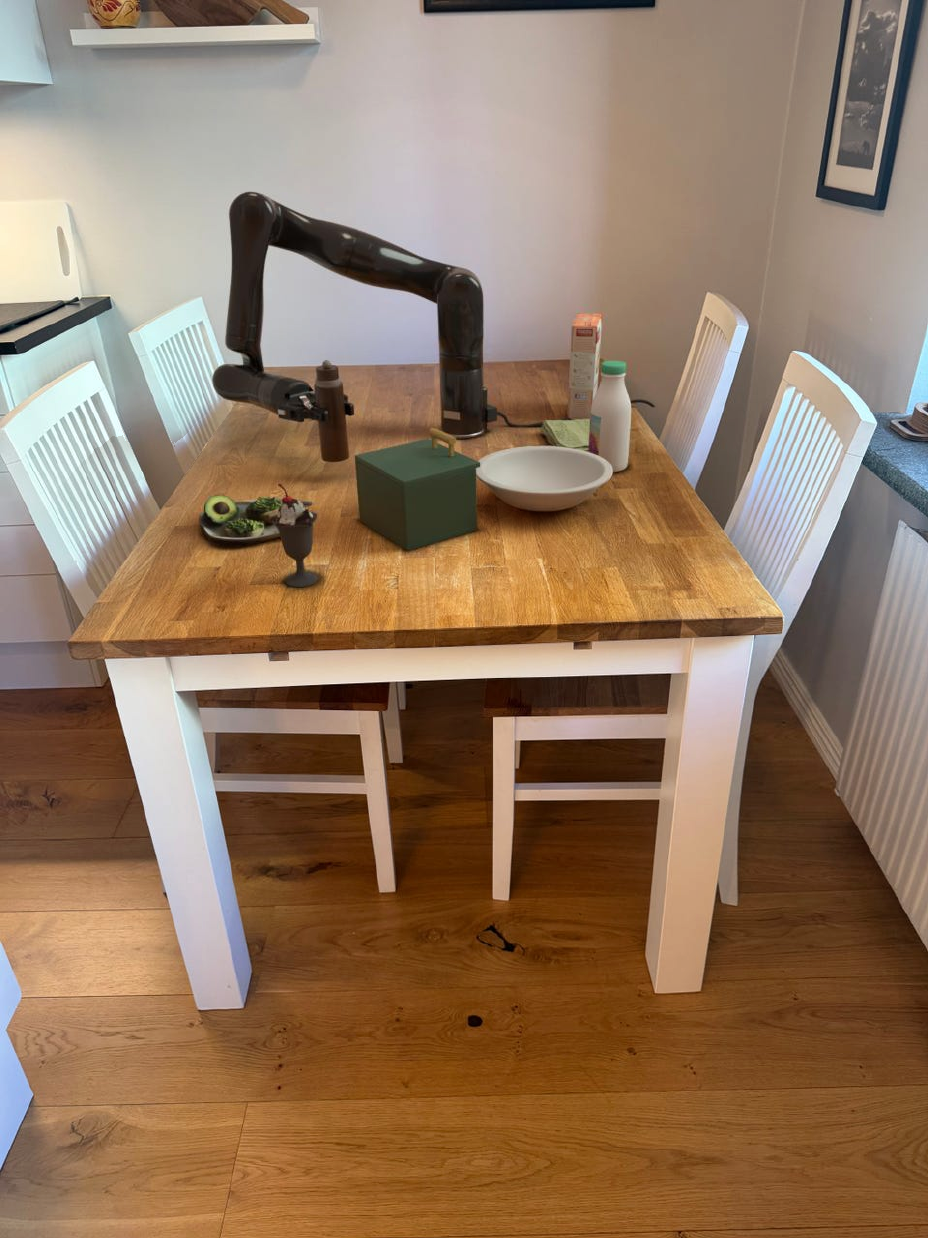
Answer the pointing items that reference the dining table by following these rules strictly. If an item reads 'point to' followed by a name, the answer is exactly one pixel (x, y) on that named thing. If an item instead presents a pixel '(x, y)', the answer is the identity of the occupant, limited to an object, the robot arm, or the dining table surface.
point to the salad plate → (240, 520)
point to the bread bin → (417, 507)
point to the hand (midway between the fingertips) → (339, 413)
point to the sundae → (296, 537)
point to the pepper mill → (331, 413)
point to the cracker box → (584, 364)
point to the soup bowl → (543, 476)
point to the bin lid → (418, 460)
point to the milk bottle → (611, 417)
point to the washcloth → (567, 433)
